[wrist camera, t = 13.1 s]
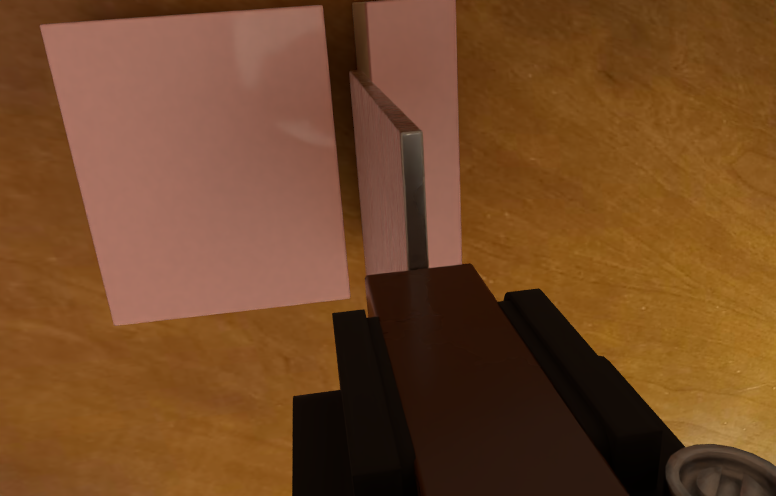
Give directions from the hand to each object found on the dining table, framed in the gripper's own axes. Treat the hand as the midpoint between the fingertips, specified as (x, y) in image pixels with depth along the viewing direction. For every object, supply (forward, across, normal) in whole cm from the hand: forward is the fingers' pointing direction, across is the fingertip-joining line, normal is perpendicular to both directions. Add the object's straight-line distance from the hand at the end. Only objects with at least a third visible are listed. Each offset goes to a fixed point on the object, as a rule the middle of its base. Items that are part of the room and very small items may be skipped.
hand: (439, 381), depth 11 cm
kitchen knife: (+13, 0, 0) cm, 13 cm away
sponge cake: (+23, +6, 0) cm, 23 cm away
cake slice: (+23, -3, 0) cm, 23 cm away
